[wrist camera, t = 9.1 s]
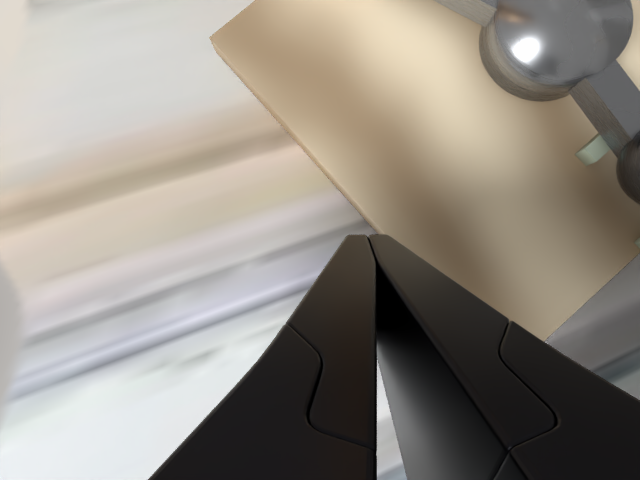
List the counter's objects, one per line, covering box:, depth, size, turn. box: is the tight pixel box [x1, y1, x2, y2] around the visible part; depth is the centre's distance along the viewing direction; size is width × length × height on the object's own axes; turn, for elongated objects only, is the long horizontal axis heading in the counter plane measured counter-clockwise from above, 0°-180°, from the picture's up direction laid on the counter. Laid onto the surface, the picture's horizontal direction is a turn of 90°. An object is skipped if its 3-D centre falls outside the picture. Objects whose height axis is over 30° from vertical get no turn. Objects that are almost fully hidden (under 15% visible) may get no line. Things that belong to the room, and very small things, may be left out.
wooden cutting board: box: [209, 0, 640, 341], centre depth 16 cm, size 16×17×2 cm
